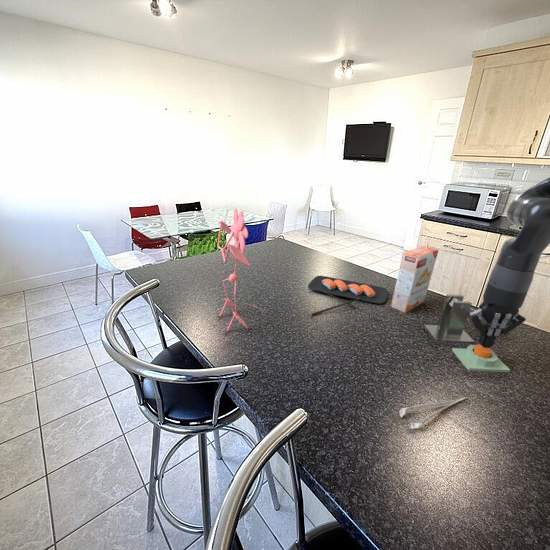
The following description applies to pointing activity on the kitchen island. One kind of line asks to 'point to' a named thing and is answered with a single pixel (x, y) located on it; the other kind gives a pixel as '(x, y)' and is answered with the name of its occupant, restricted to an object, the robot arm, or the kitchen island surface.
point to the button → (482, 351)
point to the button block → (479, 360)
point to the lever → (460, 300)
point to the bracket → (452, 321)
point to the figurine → (239, 234)
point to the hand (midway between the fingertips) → (484, 345)
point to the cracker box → (414, 278)
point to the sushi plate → (348, 291)
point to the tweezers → (427, 406)
